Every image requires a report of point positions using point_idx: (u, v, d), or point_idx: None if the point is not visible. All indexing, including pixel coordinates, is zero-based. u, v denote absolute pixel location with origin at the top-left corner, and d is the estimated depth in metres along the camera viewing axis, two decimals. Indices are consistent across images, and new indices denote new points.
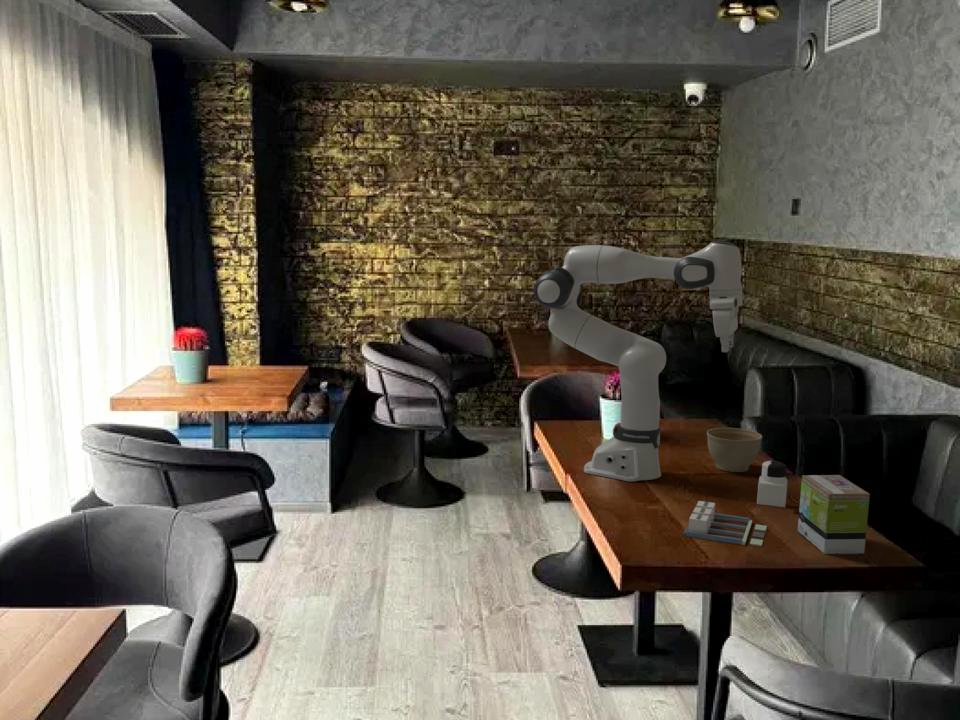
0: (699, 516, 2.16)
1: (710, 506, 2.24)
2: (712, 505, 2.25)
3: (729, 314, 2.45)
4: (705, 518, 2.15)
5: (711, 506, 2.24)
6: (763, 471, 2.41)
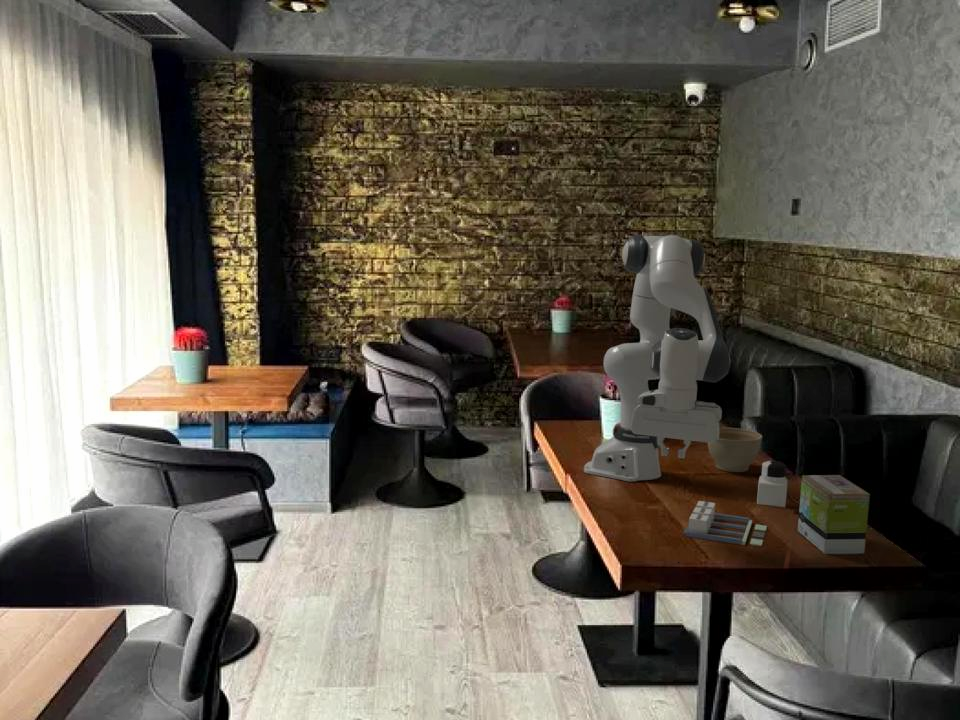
0: (699, 516, 2.16)
1: (710, 506, 2.24)
2: (712, 505, 2.25)
3: (634, 409, 2.16)
4: (705, 518, 2.15)
5: (711, 506, 2.24)
6: (763, 471, 2.41)
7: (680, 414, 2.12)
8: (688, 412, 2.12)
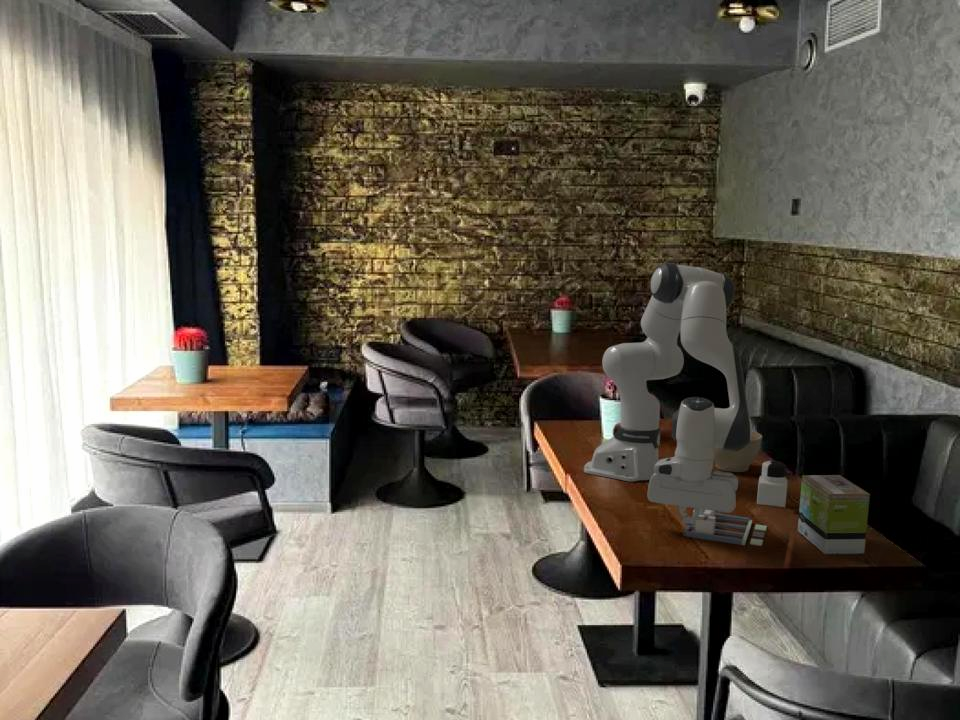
0: (706, 517, 2.15)
1: None
2: None
3: (651, 477, 2.17)
4: (712, 519, 2.15)
5: None
6: (763, 471, 2.41)
7: (696, 484, 2.12)
8: (704, 482, 2.12)
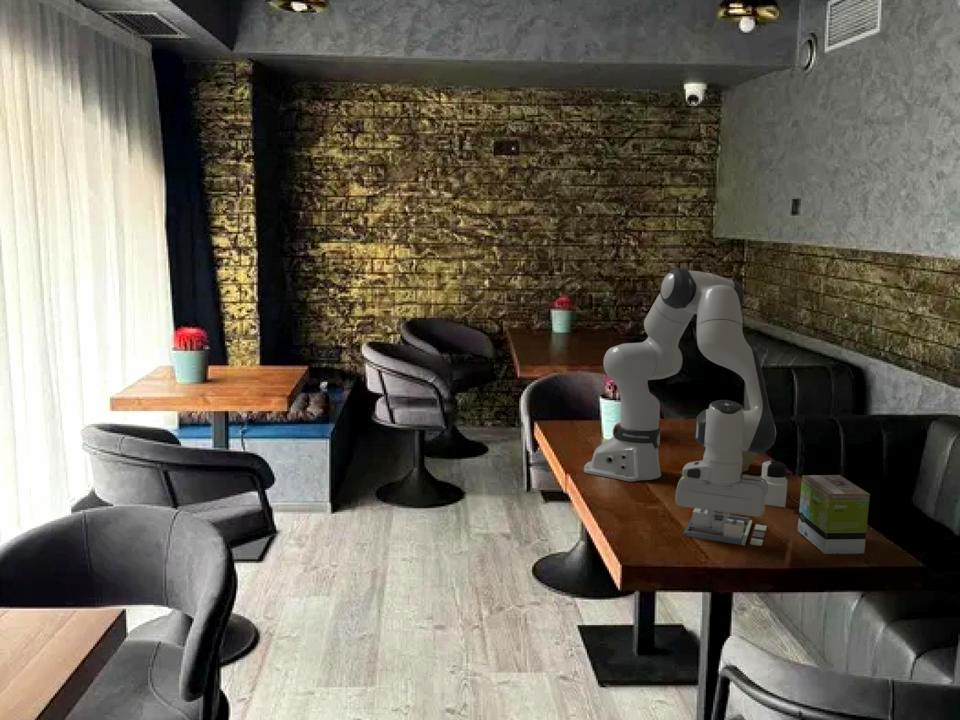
0: (734, 521, 2.13)
1: None
2: None
3: (679, 481, 2.14)
4: (741, 523, 2.12)
5: None
6: (763, 471, 2.41)
7: (726, 488, 2.10)
8: (734, 485, 2.10)
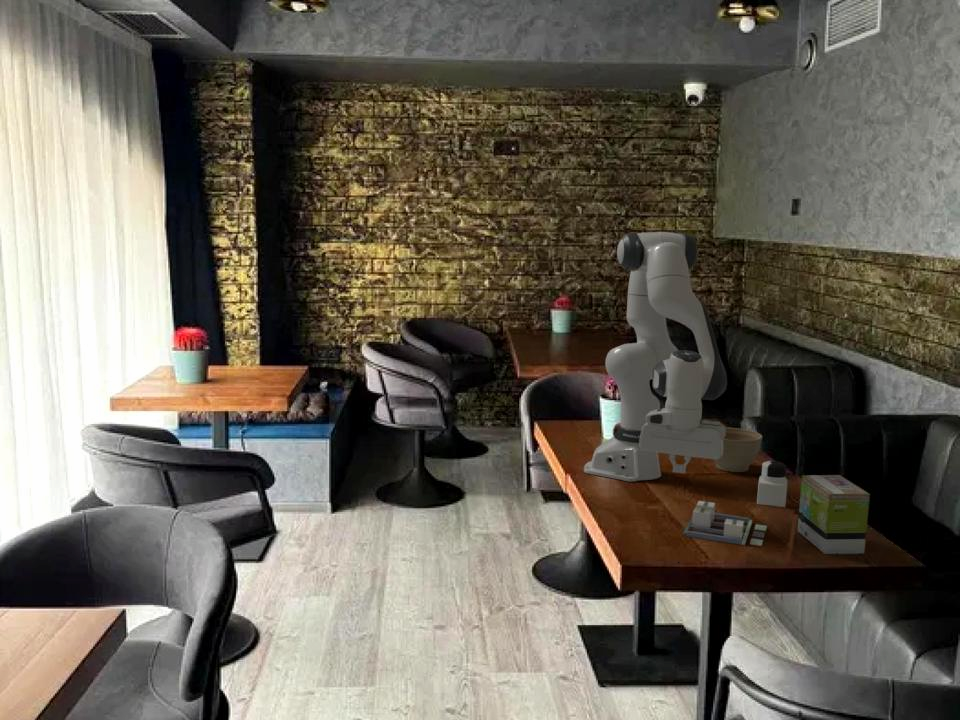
0: (734, 521, 2.13)
1: (710, 506, 2.24)
2: (712, 505, 2.25)
3: (642, 427, 2.27)
4: (741, 523, 2.12)
5: (711, 506, 2.24)
6: (763, 471, 2.41)
7: (686, 432, 2.23)
8: (693, 430, 2.23)
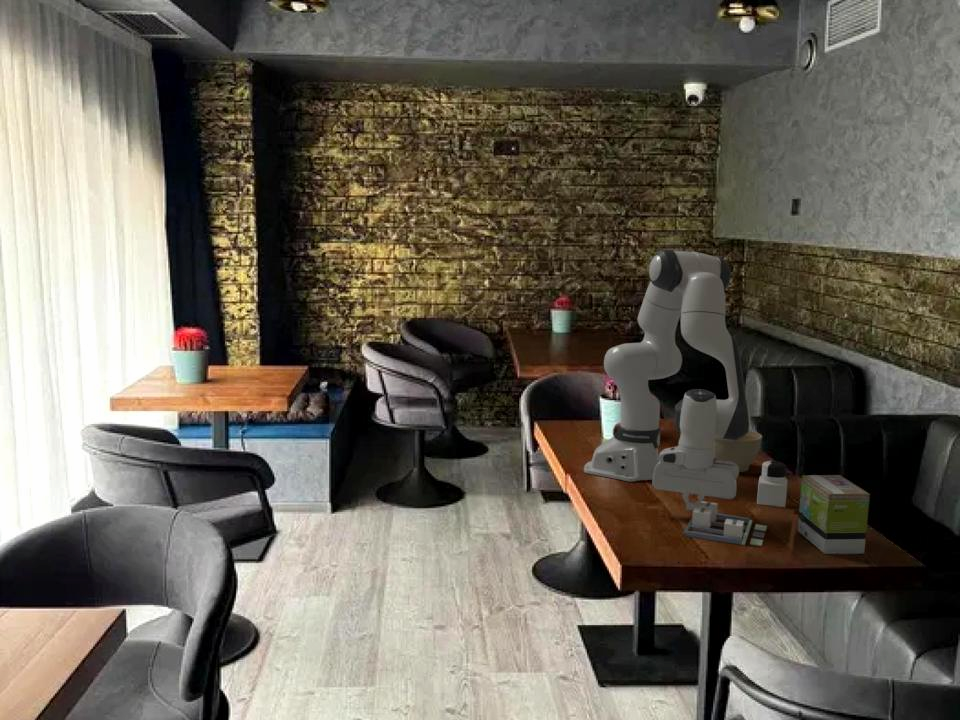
0: (734, 521, 2.13)
1: (712, 506, 2.24)
2: (714, 505, 2.25)
3: (655, 466, 2.27)
4: (741, 523, 2.12)
5: (713, 506, 2.24)
6: (763, 471, 2.41)
7: (699, 471, 2.23)
8: (707, 469, 2.23)
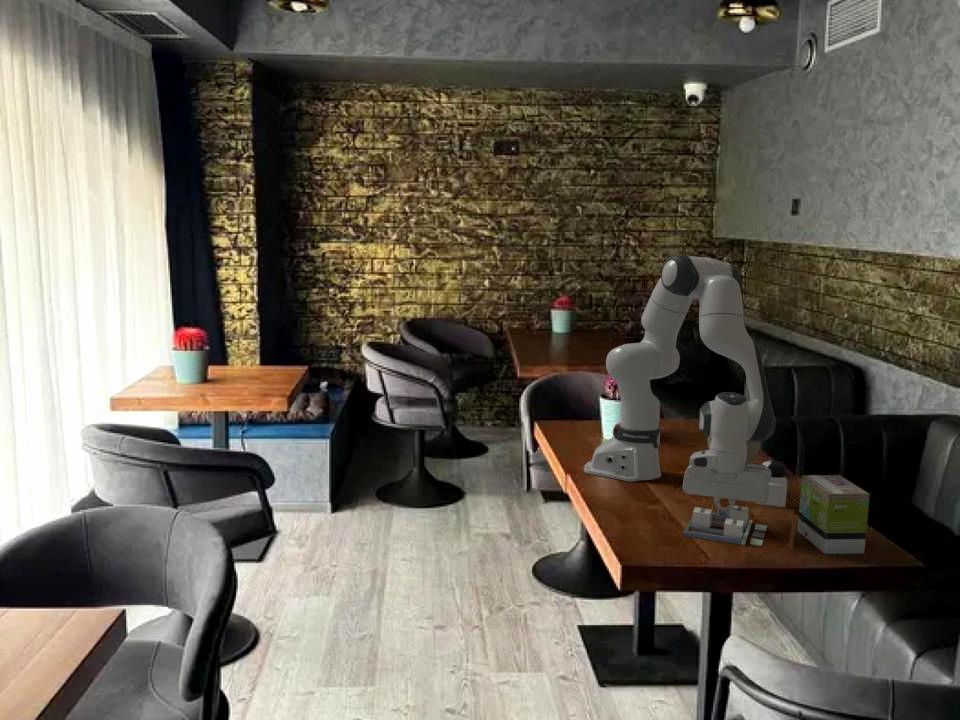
0: (734, 521, 2.13)
1: (744, 511, 2.22)
2: (746, 510, 2.22)
3: (686, 470, 2.25)
4: (741, 523, 2.12)
5: (745, 511, 2.22)
6: None
7: (731, 475, 2.20)
8: (739, 473, 2.20)
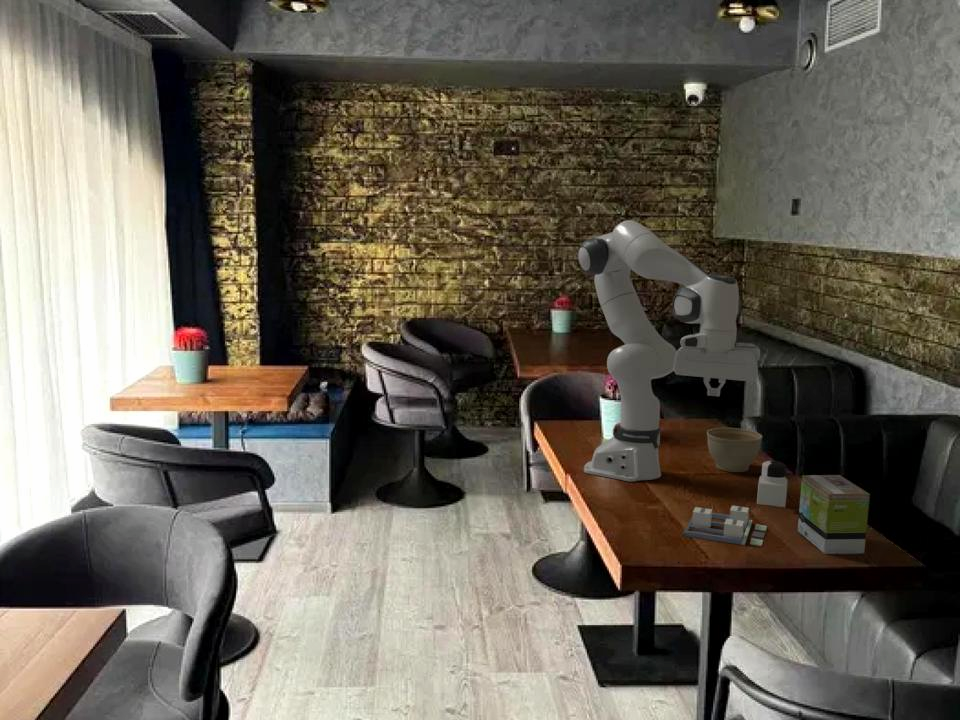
0: (734, 521, 2.13)
1: (744, 511, 2.22)
2: (746, 510, 2.22)
3: (677, 351, 2.29)
4: (741, 523, 2.12)
5: (745, 511, 2.22)
6: (763, 471, 2.41)
7: (721, 354, 2.24)
8: (728, 352, 2.25)
